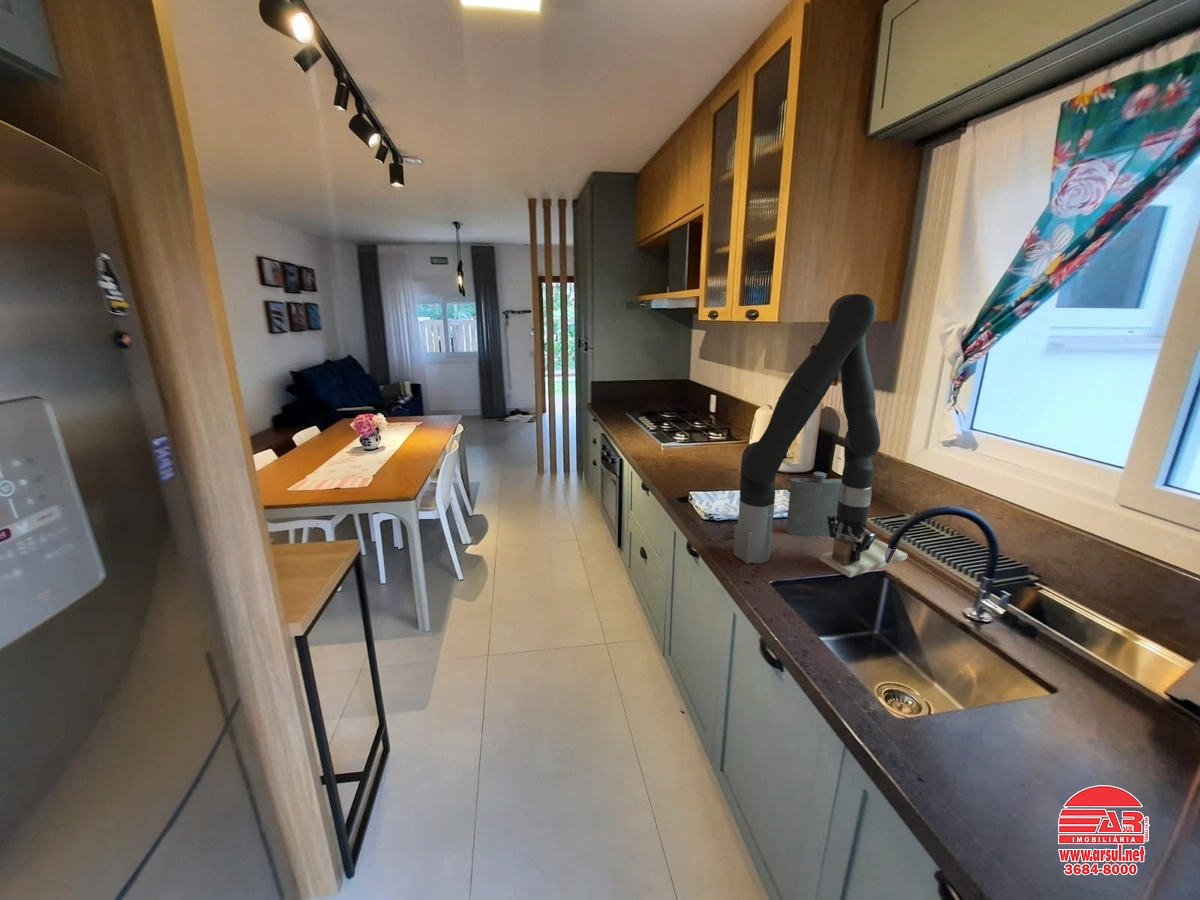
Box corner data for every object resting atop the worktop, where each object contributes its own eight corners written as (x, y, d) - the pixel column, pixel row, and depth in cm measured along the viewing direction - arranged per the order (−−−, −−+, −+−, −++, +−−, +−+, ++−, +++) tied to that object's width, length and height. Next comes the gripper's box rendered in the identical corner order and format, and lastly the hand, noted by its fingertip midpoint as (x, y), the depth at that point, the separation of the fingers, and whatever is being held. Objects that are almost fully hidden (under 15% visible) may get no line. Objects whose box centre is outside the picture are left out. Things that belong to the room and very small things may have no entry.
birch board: (849, 577, 128) (850, 572, 127) (819, 560, 136) (820, 554, 136) (906, 558, 136) (907, 553, 135) (874, 543, 145) (875, 538, 144)
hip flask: (837, 530, 153) (845, 471, 147) (841, 536, 149) (850, 475, 143) (784, 529, 155) (790, 470, 149) (788, 535, 151) (794, 475, 145)
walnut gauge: (844, 565, 130) (846, 545, 128) (832, 558, 134) (834, 538, 132) (860, 560, 132) (863, 540, 131) (847, 553, 136) (850, 534, 134)
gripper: (821, 493, 133) (815, 549, 138) (867, 512, 120) (859, 573, 125) (842, 488, 136) (835, 544, 141) (888, 507, 123) (879, 567, 128)
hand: (846, 557), depth 133 cm, fingers closed on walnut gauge, 4 cm apart
